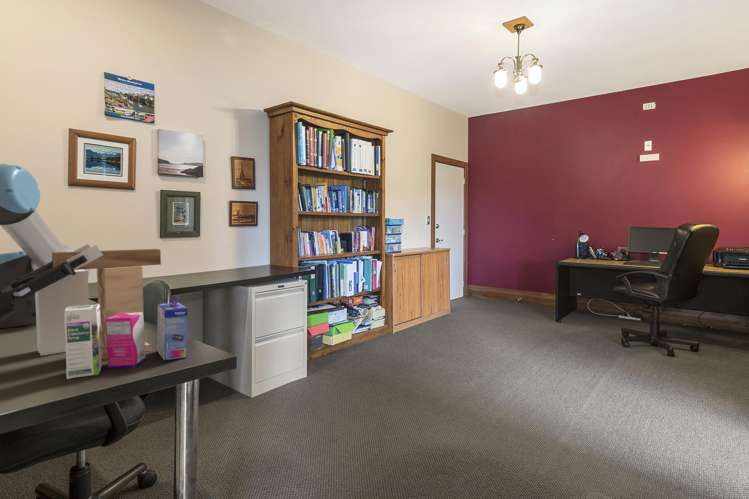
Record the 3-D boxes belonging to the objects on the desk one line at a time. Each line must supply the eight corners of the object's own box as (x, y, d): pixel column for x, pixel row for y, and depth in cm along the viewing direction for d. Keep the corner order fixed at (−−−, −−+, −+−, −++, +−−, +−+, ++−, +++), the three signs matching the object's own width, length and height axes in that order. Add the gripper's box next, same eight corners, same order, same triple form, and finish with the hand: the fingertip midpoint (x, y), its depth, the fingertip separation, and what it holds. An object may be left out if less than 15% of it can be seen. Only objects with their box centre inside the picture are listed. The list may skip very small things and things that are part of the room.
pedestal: (37, 350, 103) (34, 272, 102) (85, 342, 110) (82, 269, 109) (41, 356, 99) (37, 274, 98) (90, 347, 106) (87, 270, 105)
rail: (52, 269, 94) (51, 252, 94) (155, 263, 110) (155, 248, 110) (55, 270, 91) (54, 253, 91) (160, 264, 107) (160, 249, 107)
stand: (94, 350, 103) (91, 266, 102) (137, 342, 110) (135, 263, 109) (104, 359, 96) (100, 269, 95) (150, 350, 103) (147, 266, 102)
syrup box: (65, 379, 84) (62, 310, 83) (71, 370, 89) (68, 305, 88) (99, 375, 86) (96, 307, 86) (102, 366, 92) (100, 302, 91)
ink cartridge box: (189, 357, 98) (188, 298, 97) (164, 362, 95) (162, 300, 94) (180, 347, 106) (179, 292, 105) (156, 351, 103) (155, 294, 102)
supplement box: (120, 360, 96) (118, 312, 95) (146, 359, 97) (145, 312, 96) (106, 368, 90) (104, 317, 90) (134, 368, 91) (132, 317, 90)
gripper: (-29, 299, 76) (95, 236, 89) (-31, 287, 90) (76, 235, 104) (0, 330, 79) (116, 265, 92) (-6, 314, 93) (94, 259, 107)
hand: (95, 249), depth 98 cm, fingers open, 8 cm apart
